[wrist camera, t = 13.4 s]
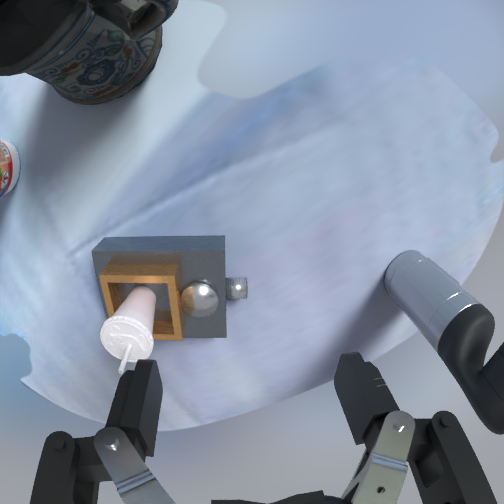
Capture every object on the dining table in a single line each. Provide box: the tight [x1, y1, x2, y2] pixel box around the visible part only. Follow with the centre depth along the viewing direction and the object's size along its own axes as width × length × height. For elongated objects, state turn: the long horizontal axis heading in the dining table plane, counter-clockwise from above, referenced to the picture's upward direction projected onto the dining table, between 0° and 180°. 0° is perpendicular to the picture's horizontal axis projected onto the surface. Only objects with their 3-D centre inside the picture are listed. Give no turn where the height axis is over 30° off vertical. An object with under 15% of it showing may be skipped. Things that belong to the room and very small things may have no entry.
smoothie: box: [100, 286, 156, 374], centre depth 32 cm, size 6×6×14 cm
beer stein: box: [0, 0, 179, 105], centre depth 17 cm, size 16×19×25 cm
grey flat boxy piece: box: [92, 236, 247, 340], centre depth 40 cm, size 21×14×8 cm, turn 88°
